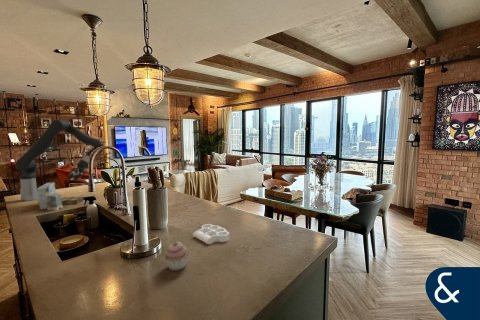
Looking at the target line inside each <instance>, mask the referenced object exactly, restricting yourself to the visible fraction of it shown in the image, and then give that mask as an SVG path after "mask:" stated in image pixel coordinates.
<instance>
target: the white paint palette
mask: <svg viewBox="0 0 480 320" xmlns="http://www.w3.org/2000/svg"><path fill="white" fill-rule="evenodd" d="M192 236H193V237H194V238H196V239H198V240H200V241H202V242H204V243H205V244H206V245H211V244H213V243H216V242H217V243H218V242H219V243H225V242H228V241H229V240H230V231H228V230H226V229H225V228H224V227H221V226H220V225H214V224H212V223H206V224H203V225H201V228H200V229H197V230H195V231H194V232H193V233H192Z"/></svg>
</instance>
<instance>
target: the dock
mask: <svg viewBox="0 0 480 320" xmlns="http://www.w3.org/2000/svg"><path fill="white" fill-rule="evenodd" d="M83 197H84V196H67V197H61V201H62V206H64V205H77V204H80V203H82V202H83V201H84V200H83Z"/></svg>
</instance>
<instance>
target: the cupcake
mask: <svg viewBox="0 0 480 320" xmlns="http://www.w3.org/2000/svg"><path fill="white" fill-rule="evenodd" d="M189 255H190V251H189V250H188V249H187V247H186V245H185V244H183V243H182V242H180V241H174V242H173V243H172V244H170V245H169V246H168V248H167V249H166V251H165V254H164V255H163V257H164V260H165V262H166V263H167V267H168V268H169V270H170V271H174V272H175V271H176V272H177V271H180V270H183V269H185V267H186V266H187V262H188V259H189V258H188V257H189Z"/></svg>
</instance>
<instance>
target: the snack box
mask: <svg viewBox="0 0 480 320" xmlns="http://www.w3.org/2000/svg"><path fill="white" fill-rule="evenodd" d="M55 184H56V183H55V182H46V183H45V184H42V185H41V186H39V187H38V188H37V189H36V190H37V196H38V199H37V201H38V202H37V203H38V209H39V211H40V210H48V209H47V208H48V204H47V196H48V195H51V194H57V193H56V187H55V186H56V185H55Z"/></svg>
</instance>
